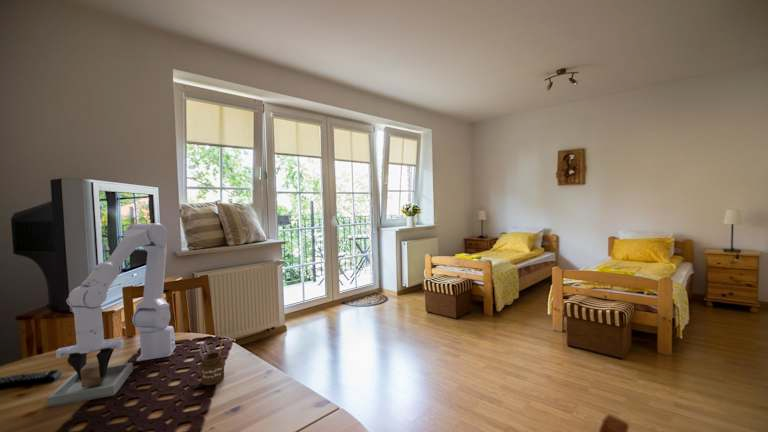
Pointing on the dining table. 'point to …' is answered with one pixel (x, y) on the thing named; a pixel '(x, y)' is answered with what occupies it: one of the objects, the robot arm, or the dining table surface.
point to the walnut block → (91, 375)
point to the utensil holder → (212, 367)
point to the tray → (90, 387)
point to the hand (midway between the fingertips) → (93, 377)
